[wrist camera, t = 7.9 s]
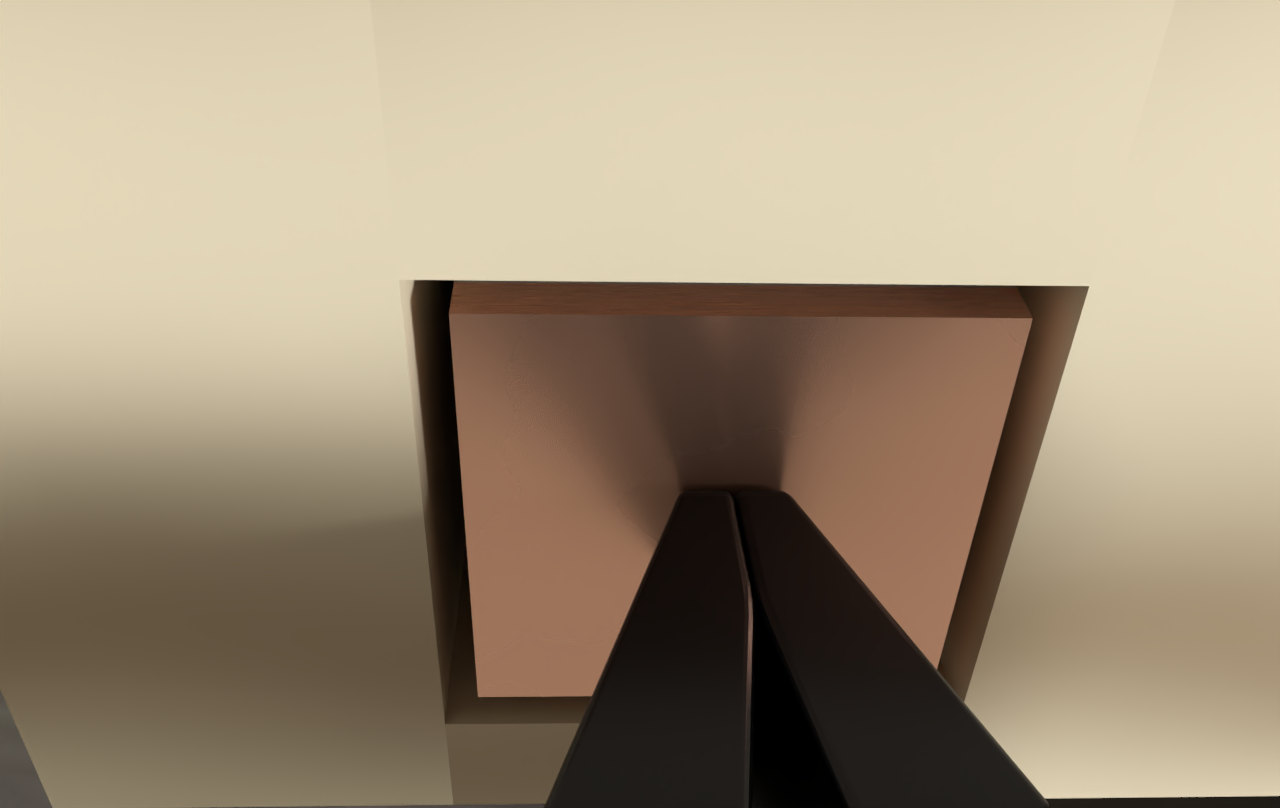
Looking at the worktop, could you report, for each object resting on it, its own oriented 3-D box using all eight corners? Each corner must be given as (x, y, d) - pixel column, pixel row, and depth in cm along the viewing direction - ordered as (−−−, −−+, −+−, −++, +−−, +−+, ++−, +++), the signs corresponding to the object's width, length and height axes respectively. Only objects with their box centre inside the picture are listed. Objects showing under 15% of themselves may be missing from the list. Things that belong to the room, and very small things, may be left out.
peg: (828, 328, 15) (930, 694, 11) (511, 325, 15) (477, 697, 11) (875, 16, 13) (1033, 318, 8) (499, 9, 13) (448, 313, 8)
